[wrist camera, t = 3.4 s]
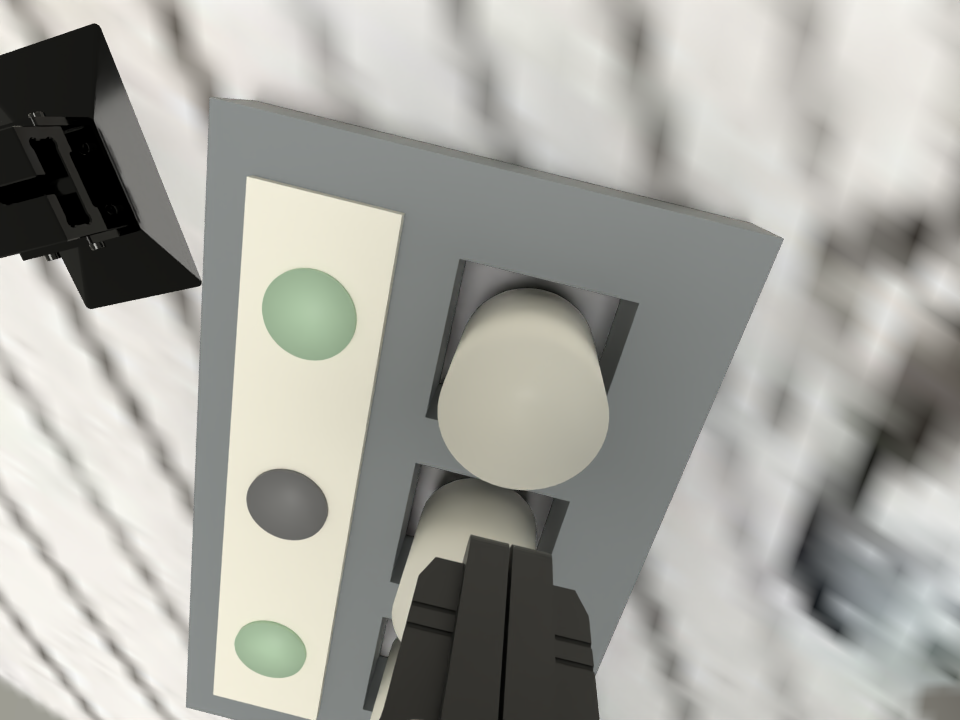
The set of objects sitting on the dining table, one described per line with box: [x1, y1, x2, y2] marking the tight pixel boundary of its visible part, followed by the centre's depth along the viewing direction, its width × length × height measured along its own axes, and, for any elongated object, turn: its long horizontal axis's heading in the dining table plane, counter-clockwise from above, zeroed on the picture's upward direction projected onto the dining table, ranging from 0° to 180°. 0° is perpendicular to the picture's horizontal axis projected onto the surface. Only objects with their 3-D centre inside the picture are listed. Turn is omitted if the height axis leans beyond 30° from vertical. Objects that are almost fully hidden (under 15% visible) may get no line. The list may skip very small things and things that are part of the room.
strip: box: [213, 175, 405, 720], centre depth 23 cm, size 5×24×1 cm, turn 167°
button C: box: [438, 288, 609, 490], centre depth 19 cm, size 5×5×5 cm
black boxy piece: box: [0, 24, 202, 309], centre depth 21 cm, size 12×7×5 cm, turn 13°
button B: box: [392, 478, 536, 642], centre depth 22 cm, size 5×5×5 cm
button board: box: [186, 97, 784, 720], centre depth 25 cm, size 18×28×3 cm, turn 167°
